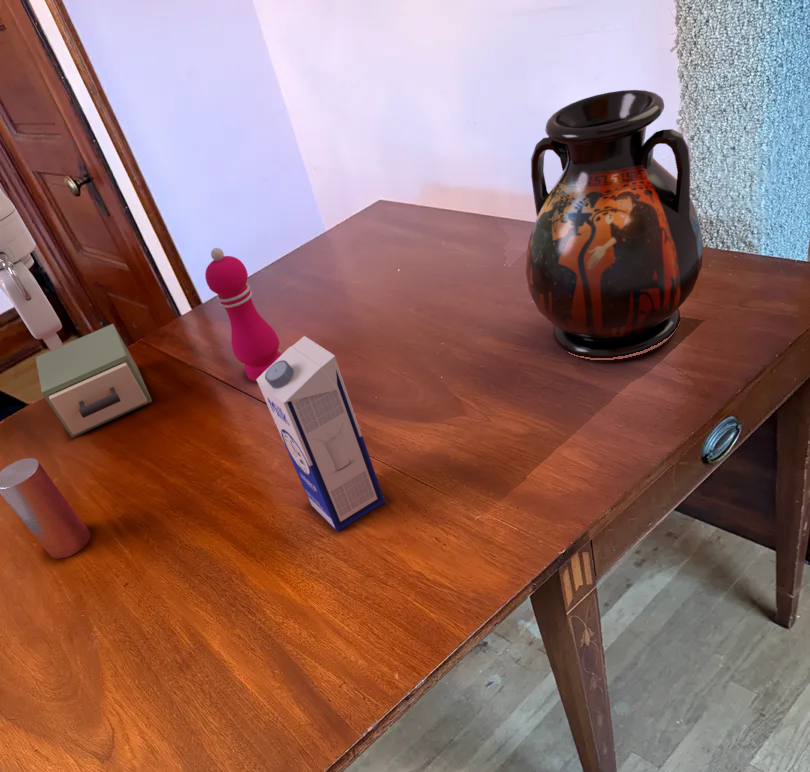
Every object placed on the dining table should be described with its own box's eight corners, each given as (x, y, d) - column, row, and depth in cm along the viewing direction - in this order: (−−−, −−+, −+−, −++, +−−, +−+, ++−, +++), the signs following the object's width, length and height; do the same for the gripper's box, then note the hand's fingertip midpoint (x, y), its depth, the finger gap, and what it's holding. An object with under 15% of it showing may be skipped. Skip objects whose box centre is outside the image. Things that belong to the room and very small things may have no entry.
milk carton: (386, 502, 87) (334, 354, 74) (338, 532, 86) (276, 385, 72) (356, 477, 92) (303, 333, 79) (310, 505, 91) (248, 362, 77)
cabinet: (152, 401, 120) (126, 355, 114) (72, 438, 118) (41, 392, 112) (137, 367, 131) (113, 323, 125) (63, 400, 129) (35, 357, 123)
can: (51, 565, 95) (-7, 495, 87) (47, 541, 99) (-8, 471, 91) (92, 545, 96) (39, 473, 88) (87, 522, 100) (36, 451, 92)
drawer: (152, 412, 116) (130, 375, 111) (76, 447, 114) (51, 410, 109) (134, 369, 128) (114, 334, 124) (65, 400, 126) (42, 365, 122)
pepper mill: (265, 355, 122) (215, 235, 109) (297, 360, 118) (249, 237, 105) (236, 379, 119) (180, 259, 105) (267, 386, 115) (213, 262, 101)
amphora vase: (509, 368, 102) (472, 152, 83) (574, 289, 113) (554, 83, 94) (667, 387, 90) (666, 141, 71) (722, 297, 101) (733, 64, 83)
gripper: (34, 253, 85) (96, 359, 94) (5, 219, 99) (61, 314, 108) (-20, 276, 83) (48, 382, 92) (-41, 239, 97) (19, 334, 106)
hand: (55, 345), depth 100 cm, fingers closed
